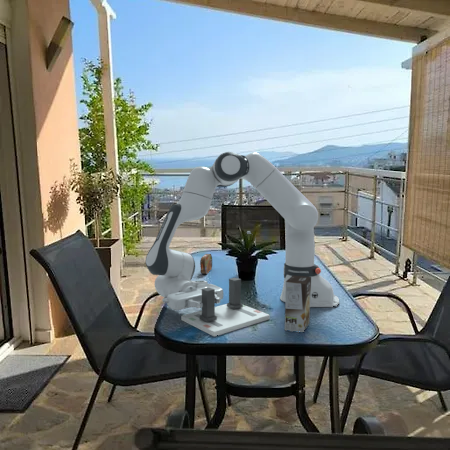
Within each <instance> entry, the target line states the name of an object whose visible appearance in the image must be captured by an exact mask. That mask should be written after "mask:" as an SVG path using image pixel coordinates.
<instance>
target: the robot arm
mask: <svg viewBox="0 0 450 450" xmlns="http://www.w3.org/2000/svg"><path fill="white" fill-rule="evenodd" d="M240 179H242V180H245V181H247V182H248V183H249V184H250V185H251V186H252V187H253V188H254V189H255V190H256V191H257V192H258V193H259V194H260V195H261V196H262V197H263V198H264V199H265V200H266V201H267V202H268V203H269V204H270V205H271V206H272V207H273V208H274V209H275V210H276V212H278V214H280V216H281V217H282V218H283V219H284V220H285V221H284V222H285V223H284V224H285V225H284V226H285V229H284V231H285V255H284V257H285V258H284V260H285V261H284V263H283V285H282V289H281V294H280V296H279V298H280V300H281V301H282V302H284V303H285V300H286V281H287V280H288V279H289V278H291V277H292V276H293V275H294V276H306V277H311V296H310V308H334V307H333V306H336V307H338V306H339V305H340V299H339V297H338V296H337V295H336V294H335V293H334V292H335V291H334V289H333V286H332V284H331V283H330V281H328V280H327V279H325V278H324V277H323V276H322V275H320V274H321V273H322V270H321V268H320V266H319V265H317V264H315V254H316V251H315V249H316V243H315V229H314V227H316V225H317V224H318V221H319V212H318V209H317V208H316V206H315V205H314V204H313V203H312V202H311V201H310V199H308V198H307V197H306V196H305V195H304V194H303V193H302V192H301V191H300V190H299V189H298V188H297V187H296V186H295V185H294V184H293V183H292V182H291V181H290V180H289V179H288V178H287V177H286V176H285V175H284V174H283V173H282V172H281V171H280V170H279V169H278V168H277V167H276V166H275V165H274V164H273V163H271V162H270V161H269V160H268V159H267V158H266V157H264V156H263V155H262V154H260V153H258V152H256V151H255V152H250V153H248V154H246V155H243V154H240V153H237V152H234V151H226V152H222V153H221V154H219V156H217V158H215V160H214V162H213V164H212V165H211V166H210V167H206V166H196V167H194V168H193V169H192V170H191V171H190V174H189V175H188V177H187V179H186V182H185V185H184V188H183V192H182V193H181V197H180V198H179V200H178V201H177V203H175V204H172V206H170V208H169V209H168V211H167V214H166V215H165V218H164V220H163V222H162V224H161V226H160V229H159V231H158V233H157V236H156V238H155V240H154V242H153V244H152V246H151V247H150V249H149V250H148V251H147V254H146V257H145V266H146V268H147V269H148V272H150V274H151V275H154V276H157V277H155V280H154V288H155V290H156V292H157V293H158V295H160V297H162V300H161V301H162V302H163V303H165V304H167V306H168V307H169V308H170V309H171V310H173V311H180V310H184V309H189V308H195V309H200V308H201V309H202V289H204V288H212V289H215V305H216V304H221V300H223V299H224V289H223V288H222V287H220V286H219V285H218V286H217V285H216V284H212V283H208V281H206V280H192V279H193V276H194V275H195V270H196V261H195V258H194V257H193V255H192V254H191V253H188V252H185V251H181V250H175V249H171V248H170V245H171V242H172V240H173V239H174V236H175V233H176V231H177V229H178V227H179V226H180V225H181V224H183V223H185V222H191V221H197V220H200V219H202V218H204V217H205V216H206V215H207V214H208V213H209V211H210V208H211V205H212V202H213V197H214V193H215V190H216V188H218V187H220V188H221V187H222V188H223V187H224V188H225V187H230V186H232V185H234V184H235V183H237V182H238V181H239V180H240ZM338 304H339V305H338ZM337 305H338V306H337Z"/></svg>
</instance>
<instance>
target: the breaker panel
mask: <svg viewBox="0 0 450 450" xmlns="http://www.w3.org/2000/svg"><path fill="white" fill-rule="evenodd" d="M200 315H202V309H201V310H198V311H194V312H190V313H187V314H183V315H181V319H180V320H181V321H182V322H185V323H187V325H190V326H193V327H194V328H196V329H199V330H201V331H202V332H204V333H206V334H208V335H210V336H212V337H214V338H215V337H218V336H221V335H224V334H227V333H230V332H234V331H236V330H239V329H242V328H246V327H249V326H253V325H256V324H258V323H261V322H265V321H268V320H270V317H271V316H270V314H268V313H266V312H263V311H261V310H258V309H255V308H253V307H251V306H247V305H244V304H243V307H241V308H238V309H232V308H229V307H227V303H226V304H221V305H218V306H215V316H217V320H214V321H211V322H205V321H203V320H200ZM217 335H218V336H217Z"/></svg>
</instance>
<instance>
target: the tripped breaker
mask: <svg viewBox="0 0 450 450" xmlns="http://www.w3.org/2000/svg"><path fill="white" fill-rule="evenodd" d="M215 305H216V303H215V289H212V288H204V289H202V308H201V310H202V315H200V320H203V321H205V322H211V321H214V320H217V316H215V307H216V306H215Z"/></svg>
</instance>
